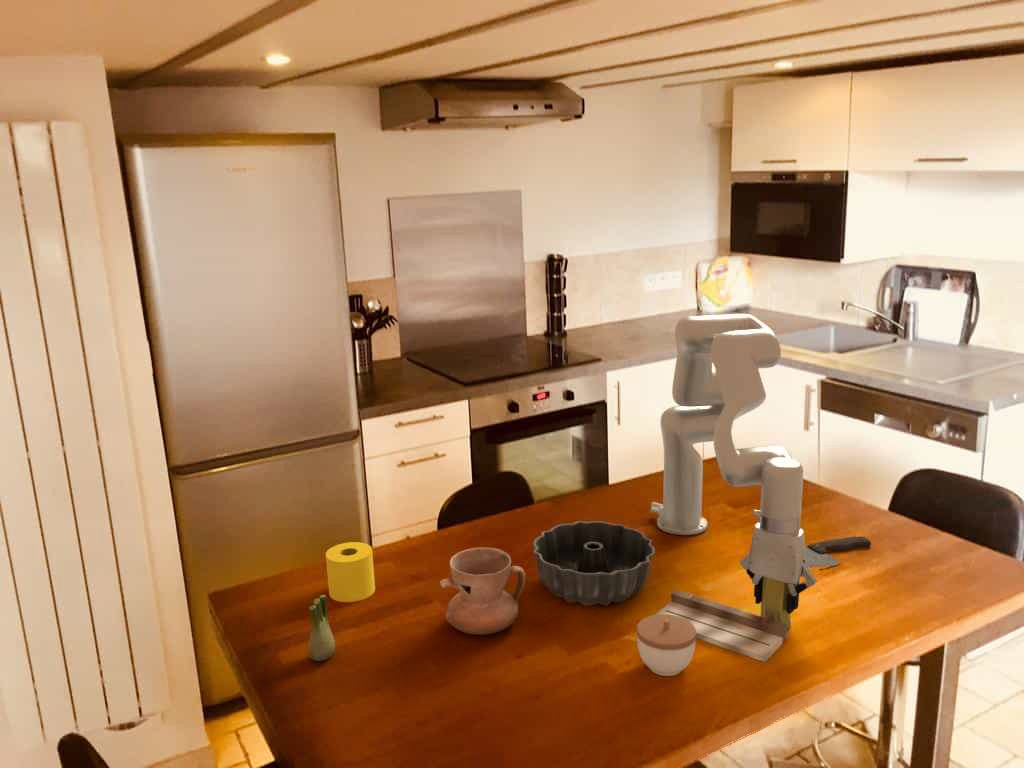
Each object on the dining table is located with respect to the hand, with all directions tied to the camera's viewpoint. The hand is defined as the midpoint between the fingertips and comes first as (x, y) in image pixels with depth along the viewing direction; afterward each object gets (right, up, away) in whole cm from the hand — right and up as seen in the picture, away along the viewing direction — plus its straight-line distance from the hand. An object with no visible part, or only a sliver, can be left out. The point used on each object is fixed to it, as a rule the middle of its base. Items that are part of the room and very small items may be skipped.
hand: (775, 605), depth 171 cm
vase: (0, -4, +1) cm, 4 cm away
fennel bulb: (-89, -9, -6) cm, 89 cm away
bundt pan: (-34, -1, +18) cm, 39 cm away
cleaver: (+19, +3, +29) cm, 35 cm away
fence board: (-12, -5, -1) cm, 13 cm away
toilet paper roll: (-88, -2, +20) cm, 90 cm away
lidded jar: (-24, -8, -12) cm, 28 cm away
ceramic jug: (-58, -5, +5) cm, 58 cm away
